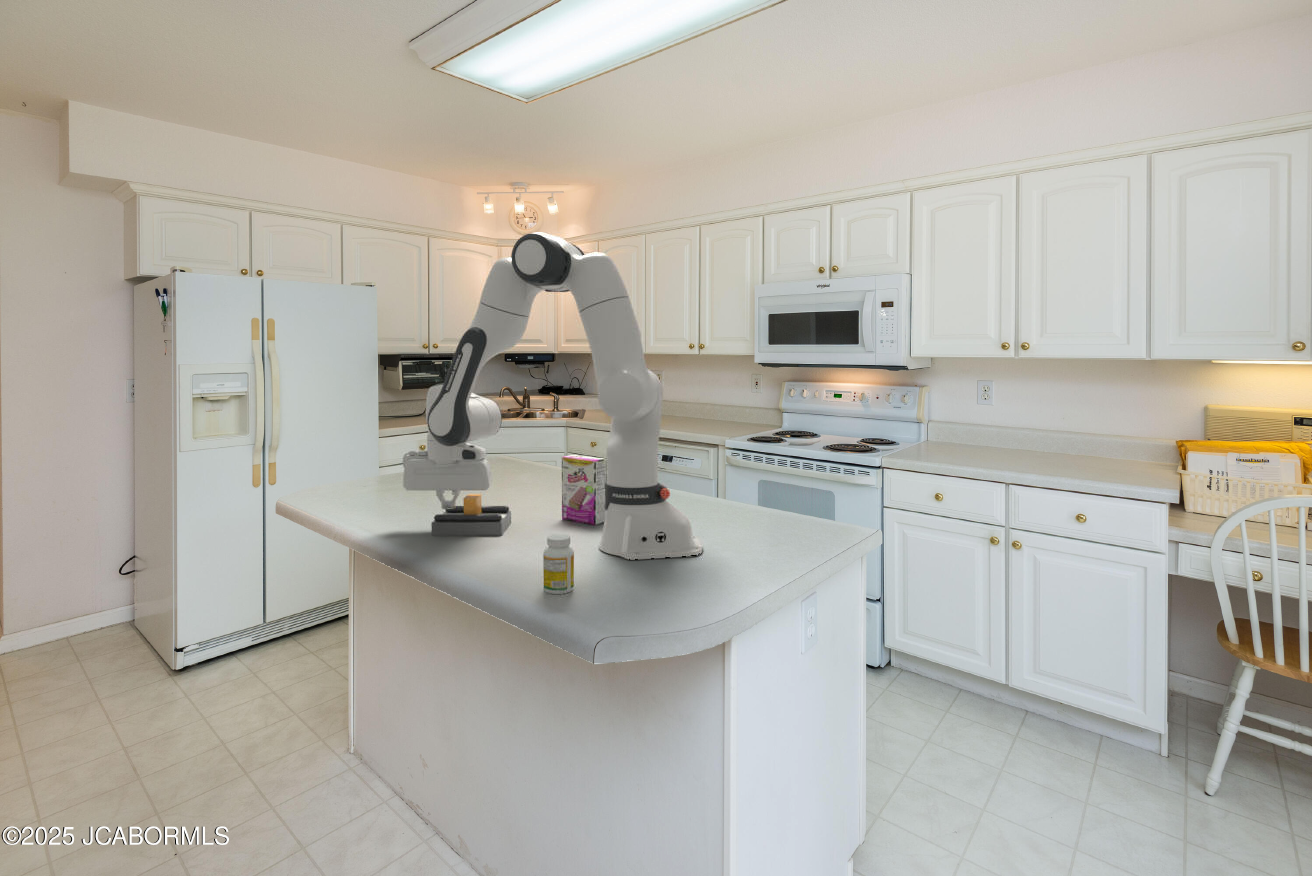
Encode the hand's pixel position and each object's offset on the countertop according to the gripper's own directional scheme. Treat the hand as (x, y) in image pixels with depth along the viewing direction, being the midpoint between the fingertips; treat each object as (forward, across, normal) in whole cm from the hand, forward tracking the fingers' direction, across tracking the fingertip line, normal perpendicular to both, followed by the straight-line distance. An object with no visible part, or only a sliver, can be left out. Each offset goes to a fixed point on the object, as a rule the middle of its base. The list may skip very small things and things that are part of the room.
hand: (448, 508), depth 153 cm
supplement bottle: (+5, +31, -42) cm, 52 cm away
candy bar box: (+5, +32, +8) cm, 33 cm away
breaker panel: (+5, +6, 0) cm, 8 cm away
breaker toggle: (+2, +6, 0) cm, 6 cm away
